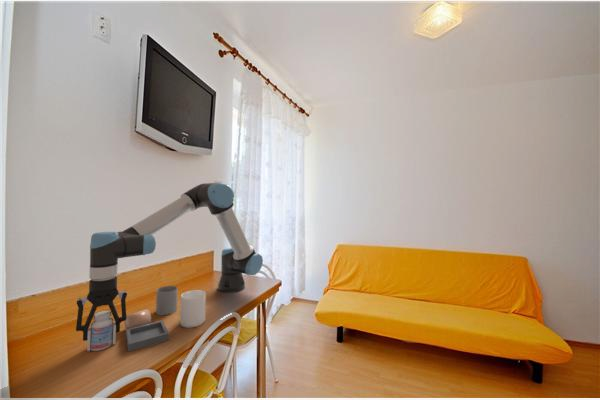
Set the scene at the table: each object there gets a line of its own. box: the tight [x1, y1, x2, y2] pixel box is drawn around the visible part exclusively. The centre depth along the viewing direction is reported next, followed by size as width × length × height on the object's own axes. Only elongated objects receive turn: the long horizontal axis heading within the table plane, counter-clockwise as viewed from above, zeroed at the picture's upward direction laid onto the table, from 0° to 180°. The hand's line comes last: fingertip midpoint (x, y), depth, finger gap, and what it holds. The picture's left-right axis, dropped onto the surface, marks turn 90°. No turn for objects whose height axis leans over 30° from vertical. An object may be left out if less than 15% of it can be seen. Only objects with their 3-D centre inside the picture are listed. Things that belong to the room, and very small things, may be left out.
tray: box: [125, 320, 170, 352], centre depth 92 cm, size 12×12×2 cm
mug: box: [179, 289, 207, 329], centre depth 105 cm, size 10×12×12 cm
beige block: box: [123, 308, 152, 330], centre depth 99 cm, size 7×6×6 cm
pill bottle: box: [90, 310, 114, 352], centre depth 86 cm, size 6×6×11 cm
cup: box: [155, 285, 179, 316], centre depth 115 cm, size 8×8×10 cm
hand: (101, 345), depth 86 cm, fingers closed on pill bottle, 6 cm apart
